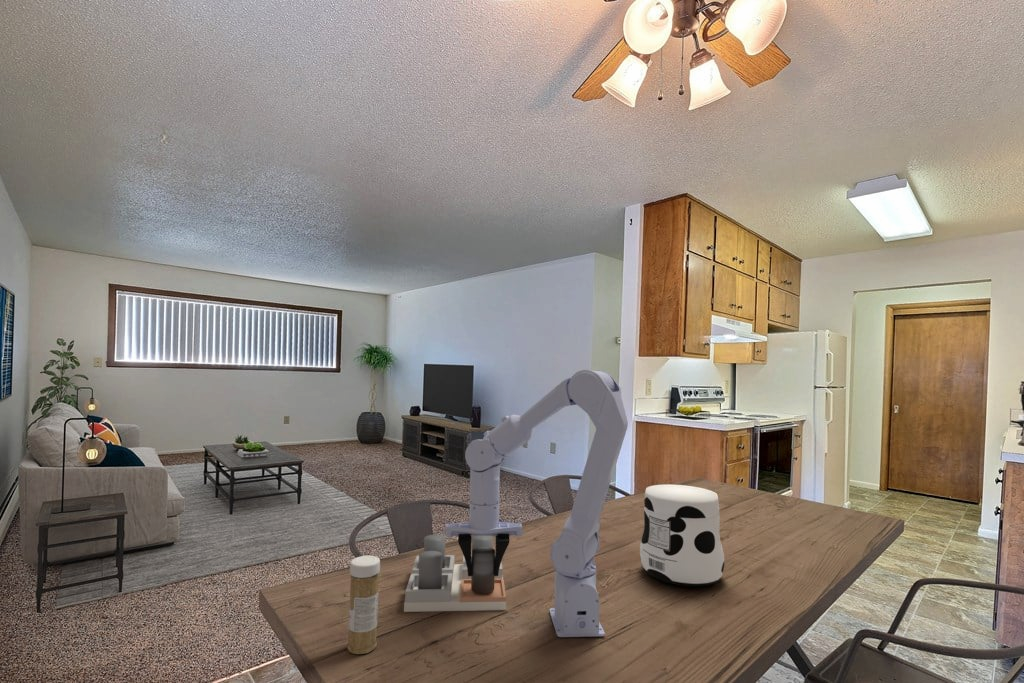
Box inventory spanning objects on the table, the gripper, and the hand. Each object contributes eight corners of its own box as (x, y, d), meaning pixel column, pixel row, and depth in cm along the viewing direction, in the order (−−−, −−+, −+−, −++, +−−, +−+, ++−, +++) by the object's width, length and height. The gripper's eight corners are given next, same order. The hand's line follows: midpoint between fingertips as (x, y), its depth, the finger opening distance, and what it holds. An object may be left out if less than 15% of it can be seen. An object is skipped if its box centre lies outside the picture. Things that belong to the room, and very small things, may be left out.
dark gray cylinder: (494, 593, 95) (495, 554, 95) (471, 593, 94) (471, 555, 95) (493, 583, 99) (494, 546, 99) (471, 583, 99) (472, 547, 99)
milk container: (719, 566, 116) (718, 486, 117) (730, 599, 99) (729, 505, 100) (640, 558, 120) (640, 481, 121) (638, 587, 104) (638, 497, 105)
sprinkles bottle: (350, 640, 81) (353, 554, 82) (379, 639, 82) (382, 554, 83) (344, 656, 77) (347, 565, 78) (374, 655, 77) (377, 564, 78)
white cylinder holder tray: (505, 610, 93) (506, 562, 93) (403, 611, 91) (405, 563, 92) (500, 570, 111) (501, 531, 111) (415, 571, 110) (416, 531, 110)
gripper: (520, 496, 102) (519, 565, 101) (447, 496, 101) (446, 566, 100) (523, 505, 95) (522, 580, 94) (445, 505, 94) (443, 581, 93)
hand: (483, 574), depth 97 cm, fingers closed on dark gray cylinder, 4 cm apart
